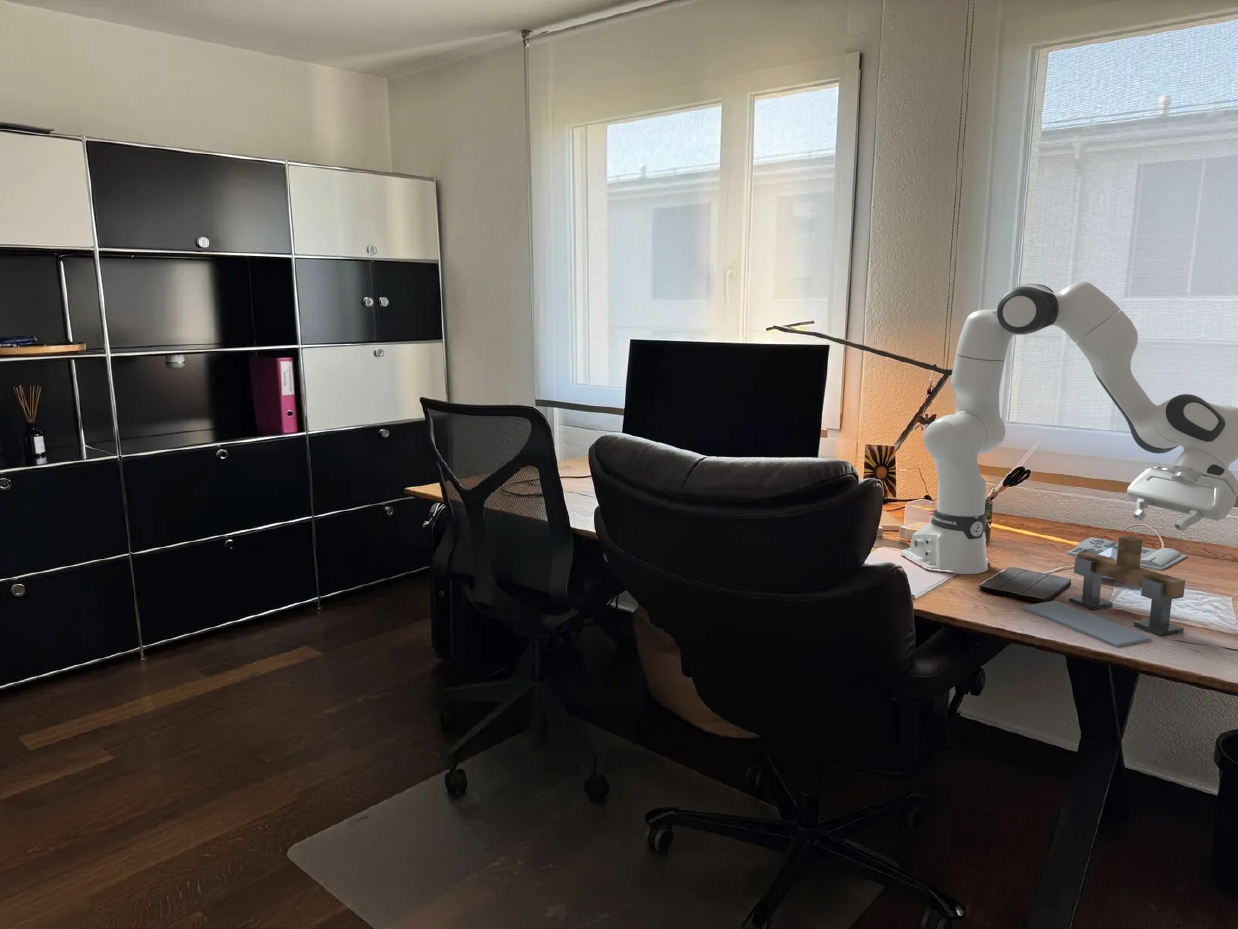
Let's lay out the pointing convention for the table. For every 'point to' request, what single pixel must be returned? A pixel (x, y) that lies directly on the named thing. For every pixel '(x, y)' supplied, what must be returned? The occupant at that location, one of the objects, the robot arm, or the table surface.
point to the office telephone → (1148, 556)
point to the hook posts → (1150, 589)
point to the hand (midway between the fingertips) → (1157, 523)
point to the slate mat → (1087, 624)
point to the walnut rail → (1131, 566)
